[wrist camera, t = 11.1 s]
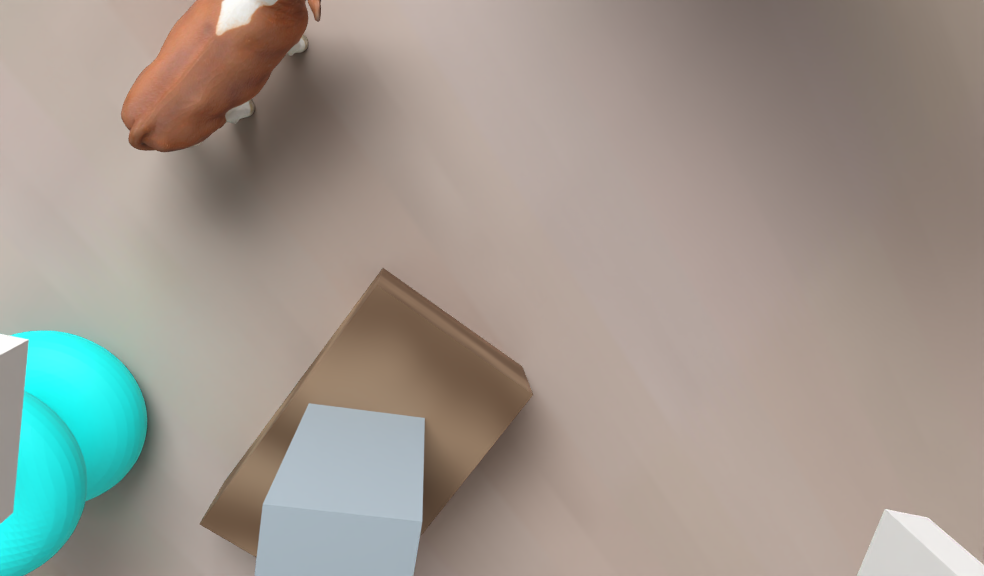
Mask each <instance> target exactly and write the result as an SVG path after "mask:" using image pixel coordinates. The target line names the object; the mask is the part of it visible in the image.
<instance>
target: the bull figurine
mask: <svg viewBox="0 0 984 576" xmlns="http://www.w3.org/2000/svg"><path fill="white" fill-rule="evenodd" d="M305 1H306V0H197V1H196V2H195V3H194V4H193V5H192V6H191V7H190V8H189V9H188V11H187V12H186V13H185V14H184V15H183V16H182V17H181V18H180V19H179V20H178V21H177V22H176V24H175V25H174V27H173V28H172V30H171V31H170V33H169V35H168V37H167V38H166V40H165V42H164V44H163V46H162V48H161V50H160V52H159V54H158V56H157V58H156V59H155V60H154V61H153V62H152V63H151V64H150V65H149V66H147V67H146V68H145V69H144V70H143V71H142V72H141V73H140V75H139V76H138V78H137V79H136V81H135V83H134V84H133V86H132V87H131V89H130V91H129V93H128V95H127V97H126V99H125V101H124V104H123V107H122V112H121V117H122V120H123V122H124V124H125V125H126V127H127V128H128V129H129V130H130V134H129V143H130V144H131V145H132V146H133V147H134V148H136V149H139V150H157V151H160V152H171V151H176V150H181V149H185V148H188V147H194V146H198V145H200V144H201V143H202V142H203V141H204V140H205V139H206V138H208V137H209V136H210V135H211V134H212V133H213V132H215V131H216V130H217V129H219V128H221V127H222V126H223V125H224V124H225V123H226V122H231V123H234V124H235V123H237V122H238V120H239V119H241V118H245V117H249V116H251V115H252V114H253V112H254V109H255V106H254V103H253V102H252V100H251V99H252V98H253V97H255V96H256V95H257V94H258V93H259V92H260V90H261V89H262V88H263V86H264V85H265V83H266V82H267V80H268V78H269V77H270V74H271V72H272V70H273V69H274V68H275V67H276V66H277V65H278V64H279V62H280V61H281V60H282V59H283V57H284V56H285V55H286V53H287V54H288V55H289V56H292V55H293V54H294V53H298V52H303V51H305V50H306V49H307V47H308V40H307V38H306V36H304V35H303V33H304V32H305V30H306V27H307V24H308V11H307V8H306V5H305ZM308 3H309V6H310V8H311V10H312V12H313V14H314V18H315V20H316V21H317V22H319V21H320V16H321V5H320V3H321V0H308Z"/></svg>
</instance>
